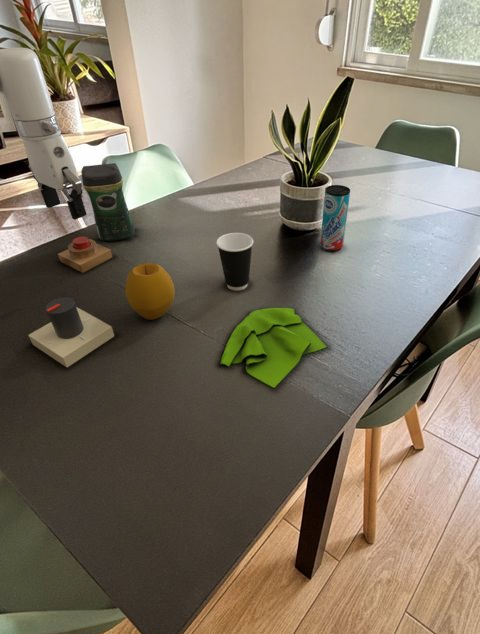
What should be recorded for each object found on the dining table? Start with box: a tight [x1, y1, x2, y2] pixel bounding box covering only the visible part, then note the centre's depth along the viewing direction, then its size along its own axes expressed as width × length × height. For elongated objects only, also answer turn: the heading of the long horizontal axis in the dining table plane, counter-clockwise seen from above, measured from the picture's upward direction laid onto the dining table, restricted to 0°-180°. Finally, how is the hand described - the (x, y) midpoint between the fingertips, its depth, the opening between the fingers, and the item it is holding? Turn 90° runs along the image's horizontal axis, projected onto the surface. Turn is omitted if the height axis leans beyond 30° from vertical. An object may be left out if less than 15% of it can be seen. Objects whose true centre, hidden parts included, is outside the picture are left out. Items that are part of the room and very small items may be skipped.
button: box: [72, 236, 90, 250], centre depth 104 cm, size 4×4×2 cm
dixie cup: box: [215, 232, 254, 292], centre depth 94 cm, size 8×8×11 cm
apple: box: [124, 262, 176, 320], centre depth 86 cm, size 10×10×12 cm
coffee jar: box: [80, 162, 136, 242], centre depth 110 cm, size 10×8×19 cm
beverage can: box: [319, 184, 351, 252], centre depth 106 cm, size 6×6×15 cm
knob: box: [45, 297, 84, 339], centre depth 80 cm, size 5×5×6 cm
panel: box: [27, 306, 115, 368], centre depth 83 cm, size 11×11×3 cm
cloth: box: [220, 307, 328, 389], centre depth 82 cm, size 20×22×2 cm
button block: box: [57, 238, 113, 274], centre depth 106 cm, size 9×9×4 cm
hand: (66, 211), depth 94 cm, fingers open, 9 cm apart
